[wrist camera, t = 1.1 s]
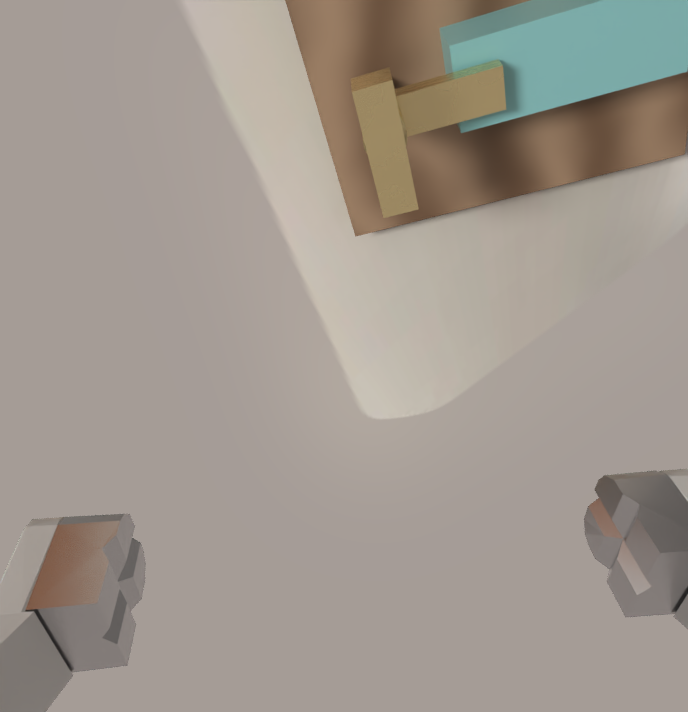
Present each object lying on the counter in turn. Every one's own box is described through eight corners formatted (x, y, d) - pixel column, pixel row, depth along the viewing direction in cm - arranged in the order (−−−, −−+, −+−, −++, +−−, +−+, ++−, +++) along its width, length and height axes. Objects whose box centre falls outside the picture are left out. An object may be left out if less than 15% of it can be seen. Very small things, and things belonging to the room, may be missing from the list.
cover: (666, -42, 32) (700, -29, 29) (657, 52, 35) (687, 71, 32) (439, 28, 34) (449, 46, 31) (450, 109, 37) (461, 133, 35)
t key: (479, -3, 33) (520, 42, 26) (490, 115, 38) (528, 181, 30) (344, 39, 34) (347, 93, 27) (371, 148, 39) (380, 219, 32)
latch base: (718, -240, 28) (740, -244, 27) (671, 142, 41) (684, 154, 40) (266, -79, 32) (263, -75, 31) (354, 223, 45) (355, 236, 44)
